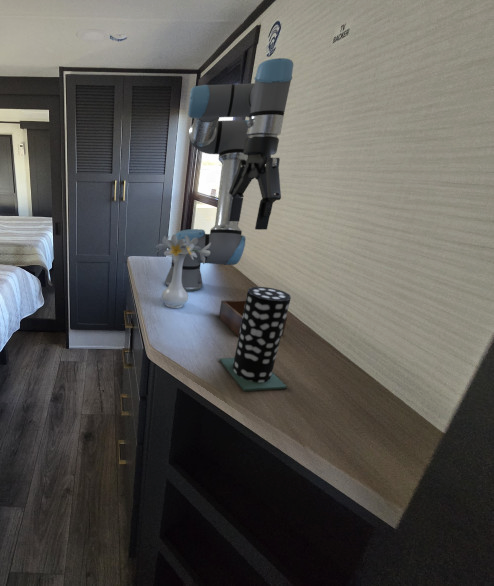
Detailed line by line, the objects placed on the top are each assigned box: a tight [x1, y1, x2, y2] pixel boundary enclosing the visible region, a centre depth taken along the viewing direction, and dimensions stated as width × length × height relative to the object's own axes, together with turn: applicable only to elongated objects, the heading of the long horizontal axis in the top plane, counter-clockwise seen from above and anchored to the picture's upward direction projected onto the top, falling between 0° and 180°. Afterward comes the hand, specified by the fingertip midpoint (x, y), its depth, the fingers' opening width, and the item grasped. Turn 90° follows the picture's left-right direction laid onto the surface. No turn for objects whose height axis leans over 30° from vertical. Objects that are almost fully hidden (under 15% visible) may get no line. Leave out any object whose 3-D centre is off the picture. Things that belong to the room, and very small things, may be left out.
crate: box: [218, 299, 288, 337], centre depth 97 cm, size 14×14×6 cm
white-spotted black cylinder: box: [233, 286, 292, 382], centre depth 71 cm, size 8×8×20 cm
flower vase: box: [154, 234, 211, 309], centre depth 108 cm, size 13×18×25 cm
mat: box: [219, 357, 288, 392], centre depth 74 cm, size 12×10×1 cm
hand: (246, 225), depth 84 cm, fingers open, 13 cm apart
